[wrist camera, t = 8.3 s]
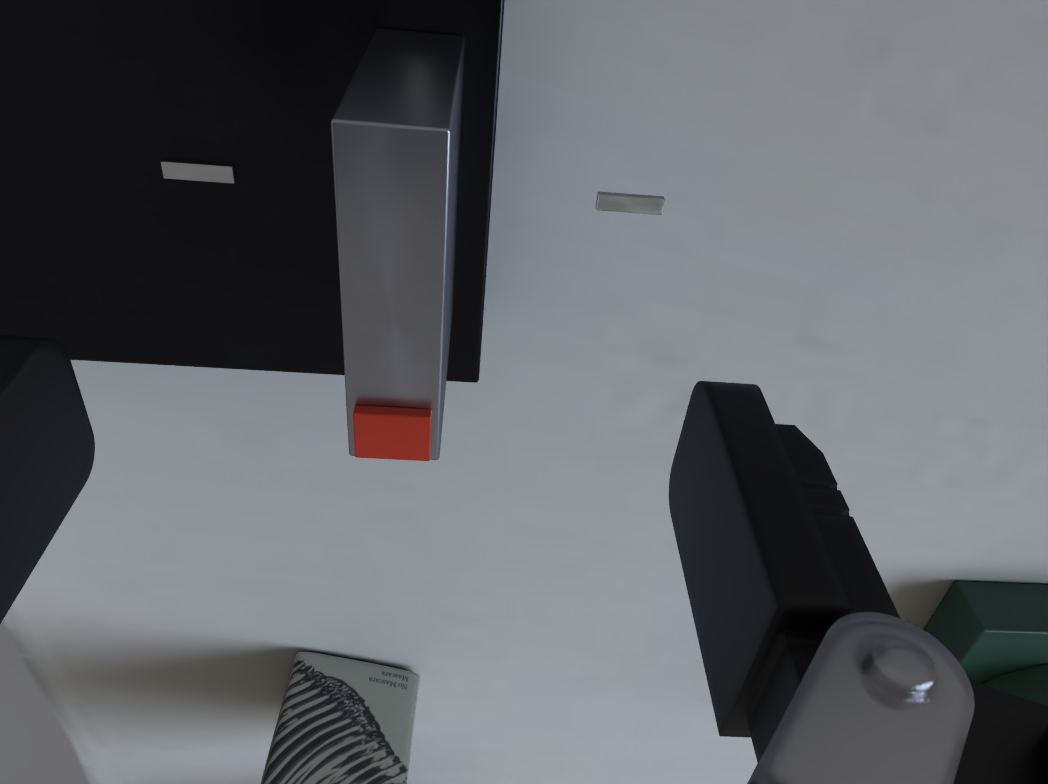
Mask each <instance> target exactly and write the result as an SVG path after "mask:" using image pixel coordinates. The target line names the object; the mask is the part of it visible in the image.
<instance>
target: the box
mask: <svg viewBox="0 0 1048 784" xmlns="http://www.w3.org/2000/svg"><path fill="white" fill-rule="evenodd" d="M418 686H419V675H418V674H416V673H414V672H412V671H407V670H402V669H397V668H393V667H388V666H383V665H378V664H373V663H368V662H363V661H358V660H353V659H346V658H341V657H335V656H330V655H324V654H319V653H313V652H299V653H297V655H296V657H295V660H294V663H293V666H292V670H291V673H290V676H289V680H288V684H287V687H286V691H285V695H284V699H283V702H282V706H281V710H280V713H279V717H278V721H277V724H276V728H275V731H274V735H273V739H272V742H271V746H270V750H269V754H268V757H267V761H266V765H265V769H264V773H263V777H262V780H261V784H407V776H408V769H409V761H410V752H411V744H412V736H413V727H414V719H415V710H416V702H417V694H418Z"/></svg>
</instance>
